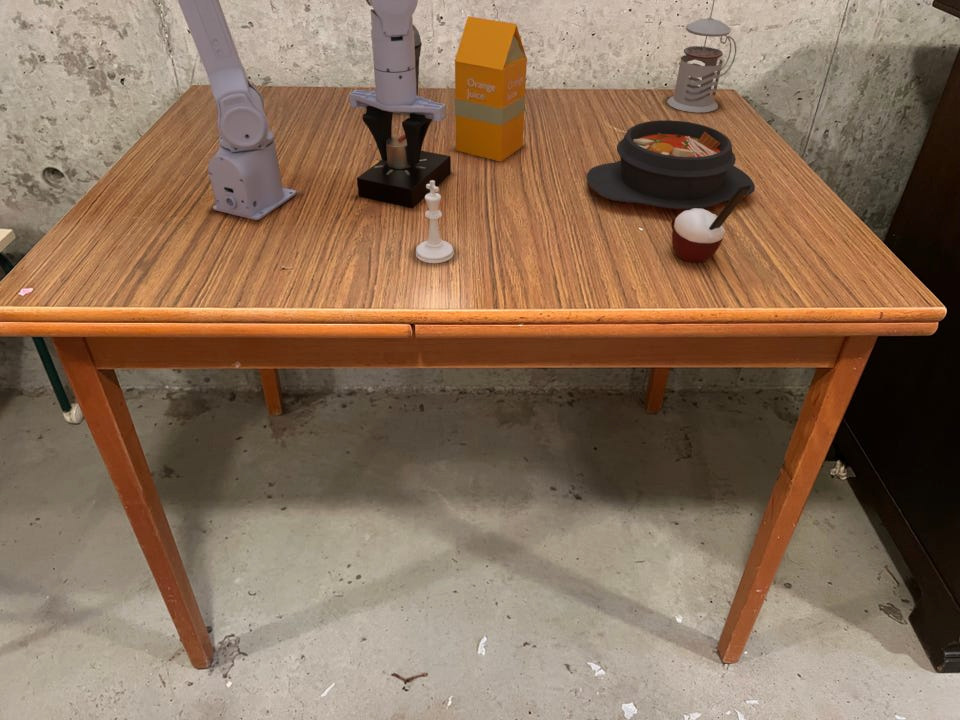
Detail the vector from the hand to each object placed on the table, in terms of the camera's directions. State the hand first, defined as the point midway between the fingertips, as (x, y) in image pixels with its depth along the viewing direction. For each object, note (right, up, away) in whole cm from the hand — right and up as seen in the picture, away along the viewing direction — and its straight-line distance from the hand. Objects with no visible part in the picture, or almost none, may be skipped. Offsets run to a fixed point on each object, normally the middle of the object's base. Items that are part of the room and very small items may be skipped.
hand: (400, 160), depth 103 cm
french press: (+55, +20, +32) cm, 66 cm away
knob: (0, 0, 0) cm, 0 cm away
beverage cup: (-2, +18, +28) cm, 33 cm away
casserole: (+40, -5, +1) cm, 41 cm away
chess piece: (+6, -16, -14) cm, 22 cm away
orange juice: (+14, +6, +13) cm, 20 cm away
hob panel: (+1, -3, +2) cm, 4 cm away
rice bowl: (+40, -17, -14) cm, 45 cm away
